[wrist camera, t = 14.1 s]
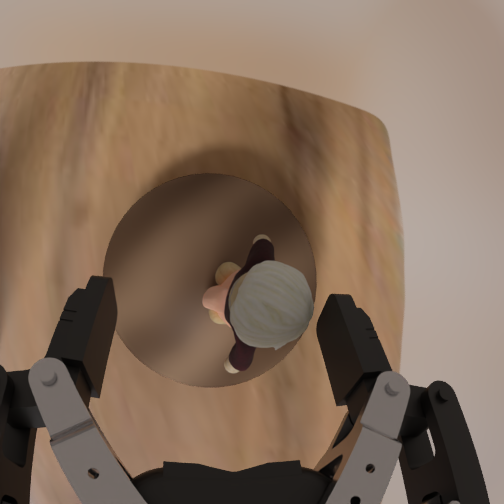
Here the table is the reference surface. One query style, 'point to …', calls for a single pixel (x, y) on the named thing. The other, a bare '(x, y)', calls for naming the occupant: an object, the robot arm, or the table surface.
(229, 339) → the walnut plinth
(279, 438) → the table surface
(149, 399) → the table surface
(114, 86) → the table surface
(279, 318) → the grandmother figurine
